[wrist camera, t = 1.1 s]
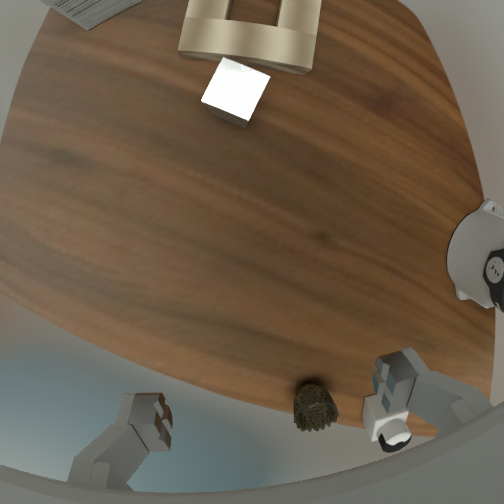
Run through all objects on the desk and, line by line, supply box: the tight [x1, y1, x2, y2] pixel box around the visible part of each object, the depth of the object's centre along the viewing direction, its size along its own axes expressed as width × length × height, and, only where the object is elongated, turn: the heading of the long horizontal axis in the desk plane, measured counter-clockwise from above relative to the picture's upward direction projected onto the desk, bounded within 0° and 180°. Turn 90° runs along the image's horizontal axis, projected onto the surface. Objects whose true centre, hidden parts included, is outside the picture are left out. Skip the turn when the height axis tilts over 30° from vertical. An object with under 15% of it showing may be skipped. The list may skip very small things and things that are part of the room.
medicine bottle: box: [362, 394, 412, 453], centre depth 50 cm, size 7×7×12 cm
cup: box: [294, 382, 339, 432], centre depth 49 cm, size 8×7×8 cm
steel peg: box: [201, 57, 270, 129], centre depth 31 cm, size 4×4×14 cm
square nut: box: [178, 0, 321, 76], centre depth 31 cm, size 16×16×4 cm
